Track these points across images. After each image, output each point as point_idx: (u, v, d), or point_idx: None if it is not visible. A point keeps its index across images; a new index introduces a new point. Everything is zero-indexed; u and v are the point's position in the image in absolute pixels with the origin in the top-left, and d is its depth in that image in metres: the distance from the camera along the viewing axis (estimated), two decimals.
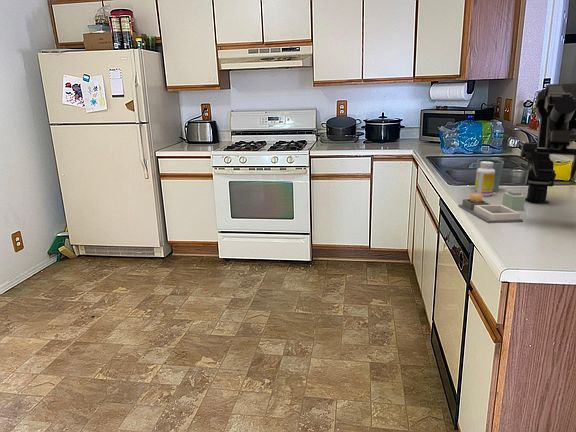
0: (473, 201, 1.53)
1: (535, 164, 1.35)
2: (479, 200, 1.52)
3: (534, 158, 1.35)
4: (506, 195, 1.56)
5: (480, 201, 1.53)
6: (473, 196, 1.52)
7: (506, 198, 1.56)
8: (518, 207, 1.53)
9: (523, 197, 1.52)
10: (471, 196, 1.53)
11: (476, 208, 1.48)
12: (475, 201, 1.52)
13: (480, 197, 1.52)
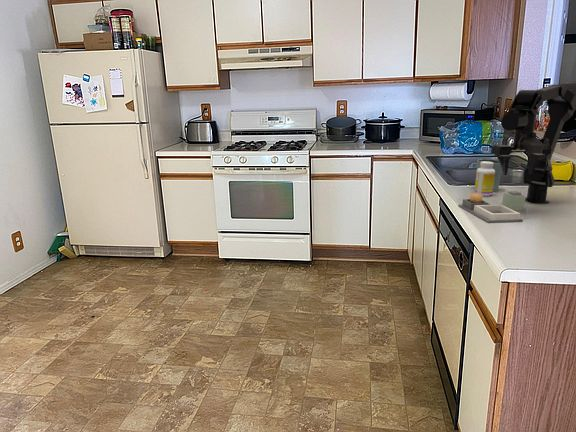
0: (473, 201, 1.53)
1: (506, 166, 1.50)
2: (479, 200, 1.52)
3: (506, 161, 1.49)
4: (505, 195, 1.56)
5: (480, 201, 1.53)
6: (473, 196, 1.52)
7: (506, 198, 1.56)
8: (518, 207, 1.53)
9: (523, 197, 1.52)
10: (471, 196, 1.53)
11: (476, 208, 1.48)
12: (475, 201, 1.52)
13: (480, 197, 1.52)
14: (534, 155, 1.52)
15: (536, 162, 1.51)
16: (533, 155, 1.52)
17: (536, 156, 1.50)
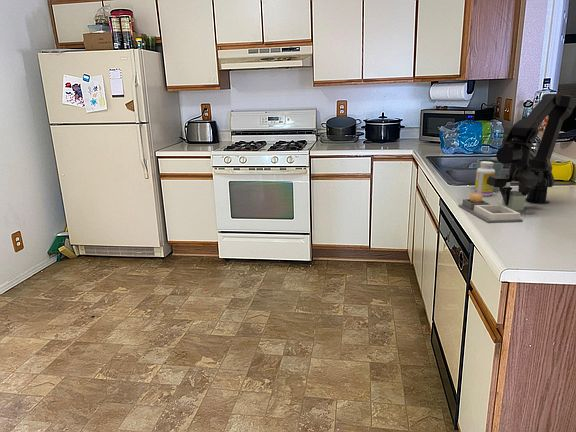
0: (473, 201, 1.53)
1: (507, 196, 1.54)
2: (479, 200, 1.52)
3: (507, 192, 1.53)
4: None
5: (480, 201, 1.53)
6: (473, 196, 1.52)
7: None
8: (518, 207, 1.53)
9: (523, 197, 1.52)
10: (471, 196, 1.53)
11: (476, 208, 1.48)
12: (475, 201, 1.52)
13: (480, 197, 1.52)
14: (523, 186, 1.55)
15: (525, 193, 1.54)
16: (522, 186, 1.55)
17: (525, 187, 1.53)
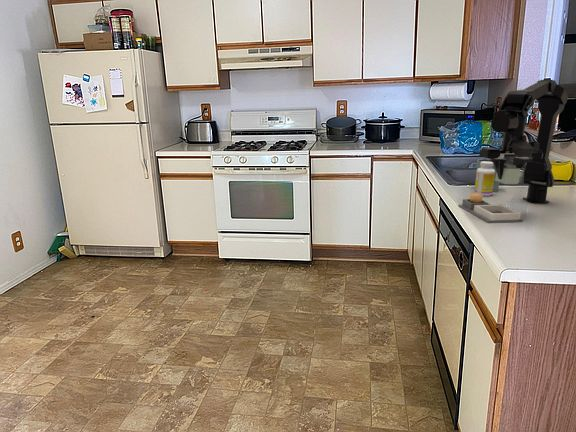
0: (473, 201, 1.53)
1: (501, 169, 1.44)
2: (479, 200, 1.52)
3: (501, 164, 1.43)
4: None
5: (480, 201, 1.53)
6: (473, 196, 1.52)
7: None
8: (513, 180, 1.44)
9: (518, 170, 1.43)
10: (471, 196, 1.53)
11: (476, 208, 1.48)
12: (475, 201, 1.52)
13: (480, 197, 1.52)
14: (518, 159, 1.45)
15: (520, 166, 1.44)
16: (517, 159, 1.46)
17: (520, 160, 1.44)
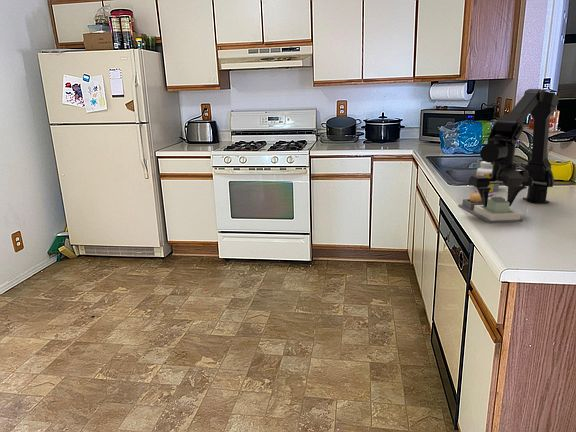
0: (473, 201, 1.53)
1: (486, 198, 1.42)
2: (479, 200, 1.52)
3: (486, 192, 1.41)
4: (488, 201, 1.45)
5: (480, 201, 1.53)
6: (473, 196, 1.52)
7: (489, 204, 1.45)
8: None
9: (507, 203, 1.42)
10: (471, 196, 1.53)
11: (476, 208, 1.48)
12: (475, 201, 1.52)
13: (480, 197, 1.52)
14: (513, 186, 1.43)
15: (515, 194, 1.43)
16: (512, 186, 1.44)
17: (515, 187, 1.42)
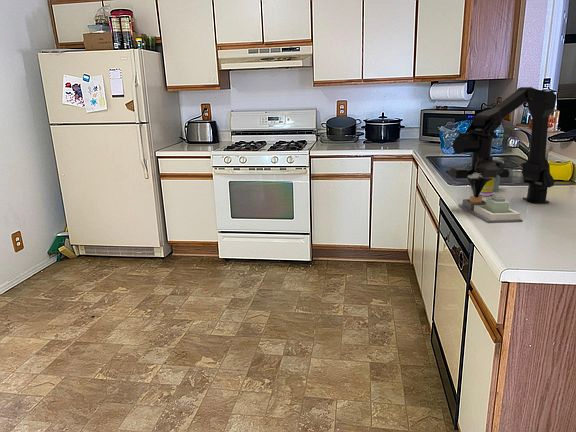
0: None
1: (476, 188, 1.52)
2: None
3: (476, 183, 1.51)
4: (488, 201, 1.45)
5: None
6: (473, 199, 1.53)
7: (489, 204, 1.45)
8: None
9: (507, 203, 1.42)
10: (471, 199, 1.53)
11: (476, 208, 1.48)
12: None
13: (480, 200, 1.52)
14: (480, 178, 1.52)
15: (482, 185, 1.51)
16: (479, 178, 1.53)
17: (481, 179, 1.51)
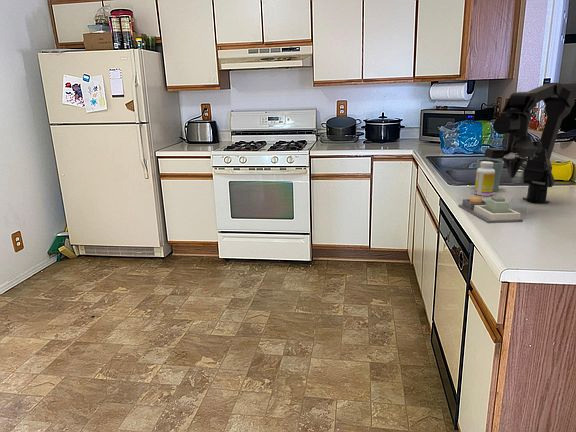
0: None
1: (512, 168, 1.50)
2: None
3: (512, 163, 1.49)
4: (488, 201, 1.45)
5: None
6: (473, 199, 1.53)
7: (489, 204, 1.45)
8: None
9: (507, 203, 1.42)
10: (471, 199, 1.53)
11: (476, 208, 1.48)
12: None
13: (480, 200, 1.52)
14: (516, 158, 1.50)
15: (518, 165, 1.50)
16: (515, 158, 1.51)
17: (518, 159, 1.49)
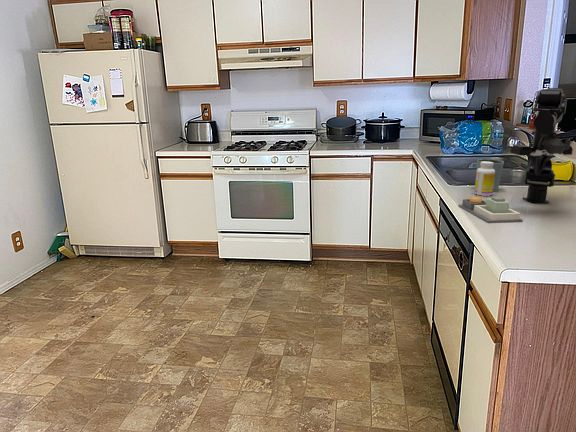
0: None
1: (538, 166, 1.49)
2: None
3: (539, 161, 1.48)
4: (488, 201, 1.45)
5: None
6: (473, 199, 1.53)
7: (489, 204, 1.45)
8: None
9: (507, 203, 1.42)
10: (471, 199, 1.53)
11: (476, 208, 1.48)
12: None
13: (480, 200, 1.52)
14: (542, 155, 1.50)
15: (544, 162, 1.49)
16: (541, 155, 1.50)
17: (544, 156, 1.49)
